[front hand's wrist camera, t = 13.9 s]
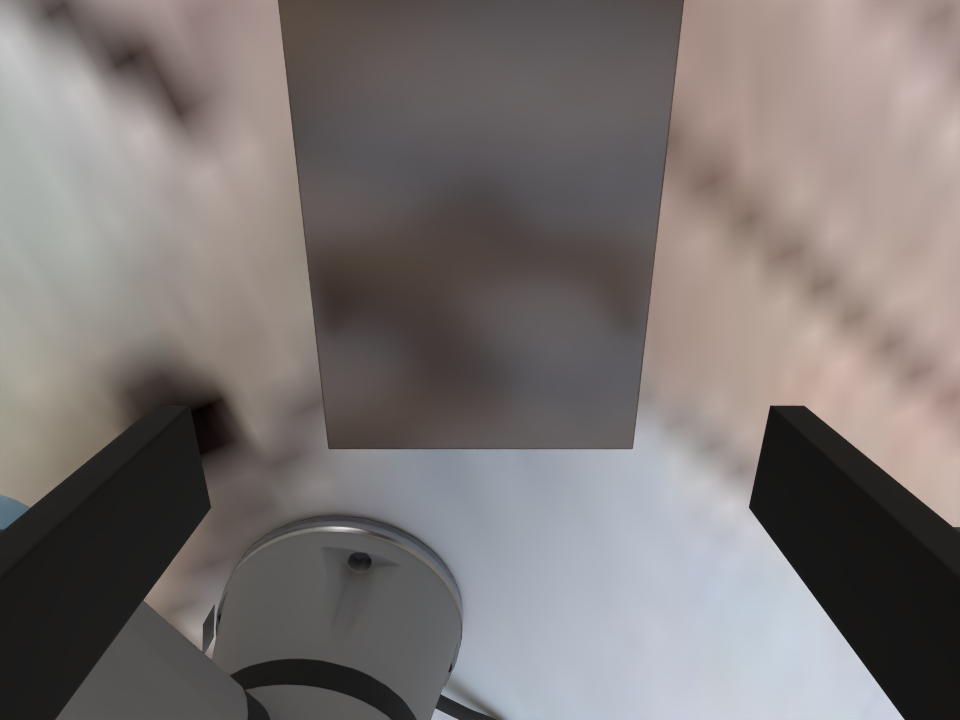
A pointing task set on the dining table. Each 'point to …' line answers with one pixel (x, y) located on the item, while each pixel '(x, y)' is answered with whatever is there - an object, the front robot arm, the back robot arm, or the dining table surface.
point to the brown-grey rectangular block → (480, 213)
